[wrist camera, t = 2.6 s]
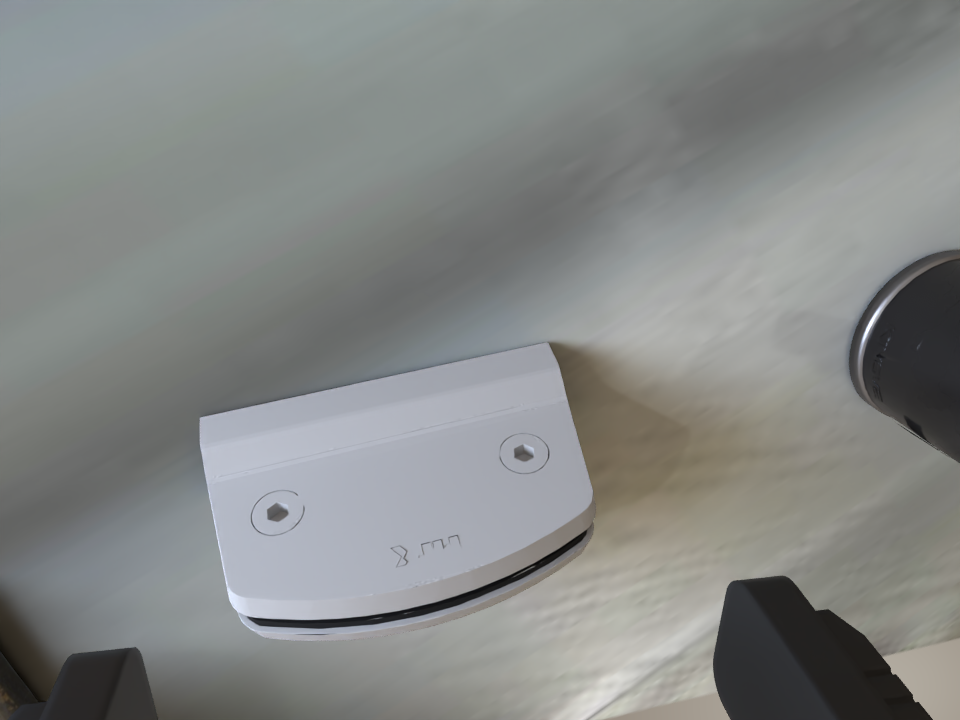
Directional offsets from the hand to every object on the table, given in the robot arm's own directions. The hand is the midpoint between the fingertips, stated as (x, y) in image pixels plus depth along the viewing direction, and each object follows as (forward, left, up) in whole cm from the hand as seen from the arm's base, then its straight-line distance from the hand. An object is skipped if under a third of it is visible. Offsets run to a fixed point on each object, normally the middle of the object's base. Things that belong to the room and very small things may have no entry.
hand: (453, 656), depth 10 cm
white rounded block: (-1, +11, -23) cm, 26 cm away
